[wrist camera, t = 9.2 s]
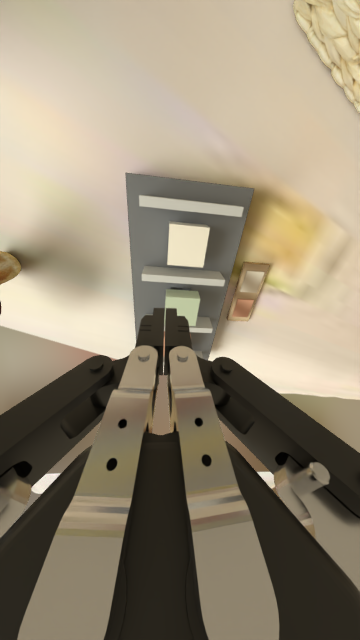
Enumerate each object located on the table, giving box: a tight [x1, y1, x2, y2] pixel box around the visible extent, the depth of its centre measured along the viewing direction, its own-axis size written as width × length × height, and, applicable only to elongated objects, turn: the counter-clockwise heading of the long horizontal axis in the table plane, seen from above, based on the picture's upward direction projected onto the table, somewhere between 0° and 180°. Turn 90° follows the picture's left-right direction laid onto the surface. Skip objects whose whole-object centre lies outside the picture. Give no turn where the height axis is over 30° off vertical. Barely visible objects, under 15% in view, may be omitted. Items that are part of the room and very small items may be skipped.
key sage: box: [164, 289, 200, 326], centre depth 29 cm, size 5×5×5 cm
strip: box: [227, 262, 270, 321], centre depth 34 cm, size 12×4×1 cm, turn 175°
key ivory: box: [167, 221, 210, 268], centre depth 25 cm, size 5×5×5 cm
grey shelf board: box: [125, 173, 254, 366], centre depth 31 cm, size 32×16×6 cm, turn 175°
